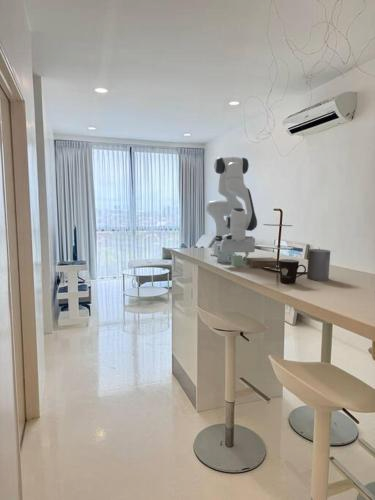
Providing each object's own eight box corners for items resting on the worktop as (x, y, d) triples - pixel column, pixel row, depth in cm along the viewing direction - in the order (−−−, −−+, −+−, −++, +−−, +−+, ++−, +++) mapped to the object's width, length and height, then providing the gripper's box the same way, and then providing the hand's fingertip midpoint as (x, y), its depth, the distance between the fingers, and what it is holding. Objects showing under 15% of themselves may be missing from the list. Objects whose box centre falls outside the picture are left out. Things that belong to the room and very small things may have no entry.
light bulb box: (233, 261, 215) (234, 244, 214) (234, 262, 209) (234, 245, 208) (216, 260, 217) (217, 244, 215) (216, 262, 210) (217, 245, 209)
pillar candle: (303, 276, 166) (305, 246, 164) (322, 276, 167) (324, 246, 165) (312, 281, 157) (314, 248, 155) (332, 280, 157) (334, 248, 156)
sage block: (231, 265, 200) (231, 254, 200) (239, 265, 201) (240, 254, 200) (233, 266, 196) (234, 256, 195) (242, 266, 196) (242, 256, 196)
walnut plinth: (246, 264, 203) (246, 257, 203) (272, 264, 205) (272, 257, 205) (253, 268, 189) (254, 261, 189) (281, 267, 192) (281, 260, 191)
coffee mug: (273, 281, 154) (274, 259, 153) (289, 280, 157) (290, 258, 156) (290, 286, 144) (291, 263, 142) (306, 285, 147) (308, 262, 145)
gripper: (253, 236, 201) (252, 259, 202) (219, 235, 198) (218, 259, 199) (256, 236, 195) (256, 260, 196) (221, 236, 192) (221, 260, 193)
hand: (237, 260), depth 198 cm, fingers open, 8 cm apart
